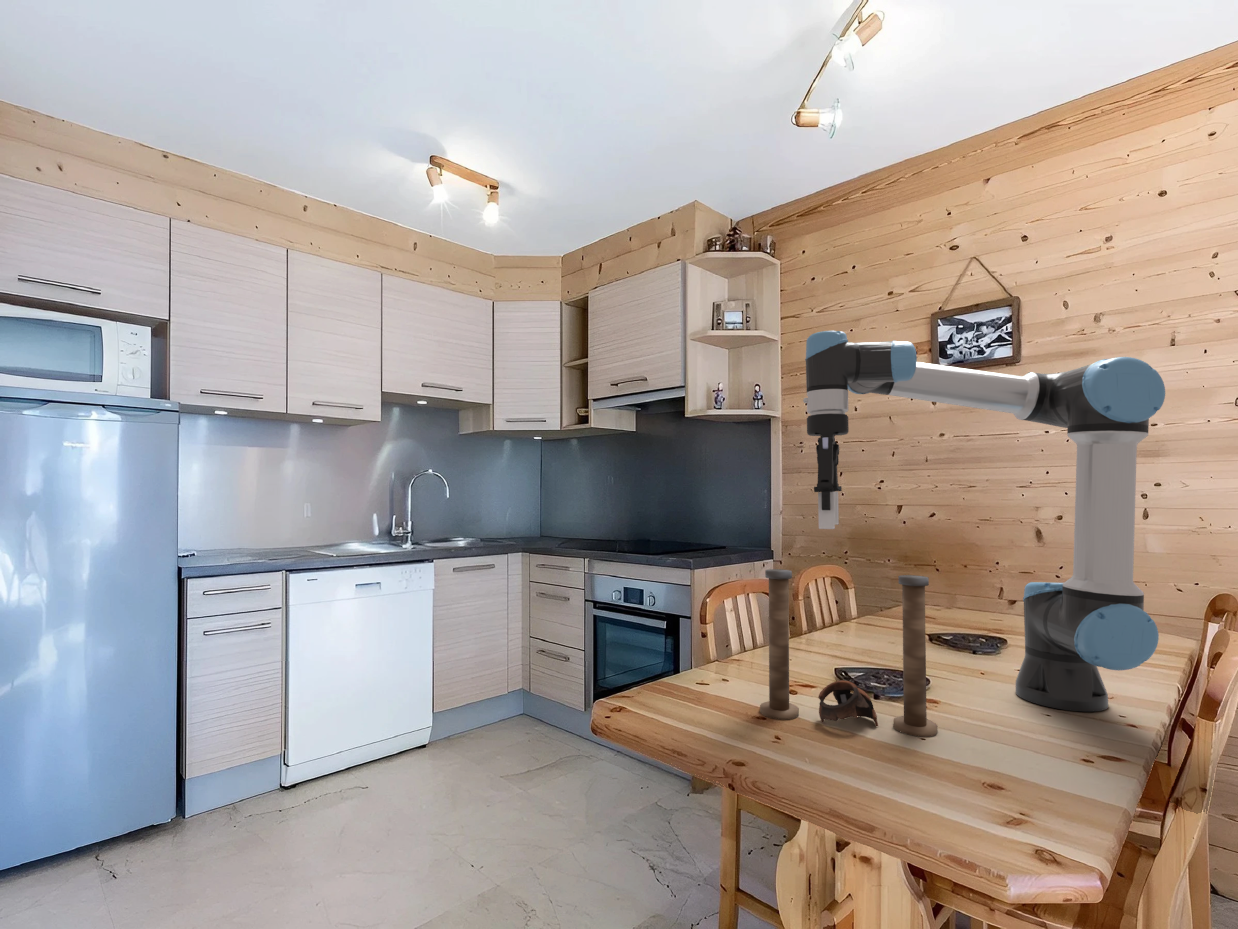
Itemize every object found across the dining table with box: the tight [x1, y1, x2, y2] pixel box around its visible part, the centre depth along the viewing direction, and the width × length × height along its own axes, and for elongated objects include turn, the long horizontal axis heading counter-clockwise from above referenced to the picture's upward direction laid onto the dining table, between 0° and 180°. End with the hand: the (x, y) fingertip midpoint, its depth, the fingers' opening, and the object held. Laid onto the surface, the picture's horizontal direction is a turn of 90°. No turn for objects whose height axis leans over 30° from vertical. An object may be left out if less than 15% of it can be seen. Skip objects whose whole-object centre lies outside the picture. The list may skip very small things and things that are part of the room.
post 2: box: [892, 574, 939, 738], centre depth 113 cm, size 7×7×26 cm
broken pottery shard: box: [818, 679, 879, 727], centre depth 116 cm, size 12×9×8 cm
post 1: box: [759, 568, 800, 721], centre depth 120 cm, size 7×7×26 cm
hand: (829, 526), depth 122 cm, fingers open, 13 cm apart
